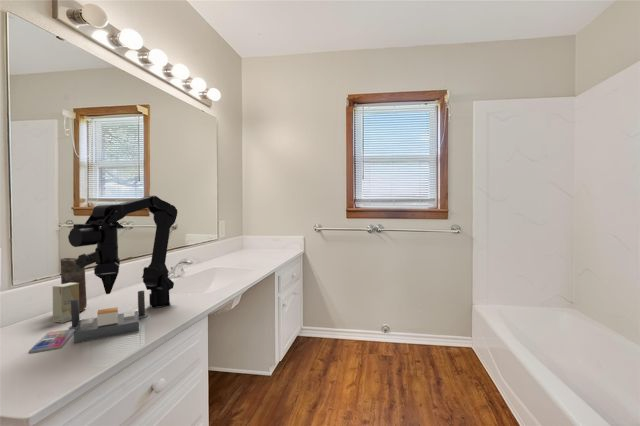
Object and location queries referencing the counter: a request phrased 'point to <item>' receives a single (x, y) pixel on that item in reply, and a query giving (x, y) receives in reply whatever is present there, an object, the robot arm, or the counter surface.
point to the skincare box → (64, 301)
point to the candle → (74, 278)
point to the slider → (107, 316)
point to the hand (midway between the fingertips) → (108, 290)
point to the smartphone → (52, 341)
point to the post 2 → (141, 305)
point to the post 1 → (74, 313)
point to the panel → (106, 327)
